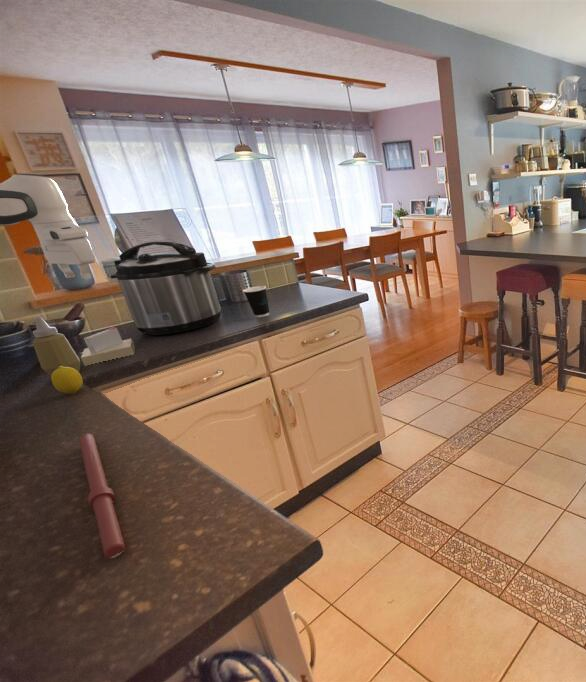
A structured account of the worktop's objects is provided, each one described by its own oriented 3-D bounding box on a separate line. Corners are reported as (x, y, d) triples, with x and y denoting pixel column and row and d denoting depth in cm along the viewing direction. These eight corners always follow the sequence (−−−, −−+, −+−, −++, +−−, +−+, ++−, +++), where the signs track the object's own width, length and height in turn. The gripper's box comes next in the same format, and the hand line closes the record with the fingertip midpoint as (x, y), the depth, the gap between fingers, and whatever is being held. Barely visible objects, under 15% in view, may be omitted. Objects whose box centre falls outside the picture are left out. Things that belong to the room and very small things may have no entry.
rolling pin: (133, 553, 63) (124, 536, 62) (105, 567, 61) (95, 550, 60) (99, 441, 92) (93, 428, 91) (79, 448, 90) (72, 435, 89)
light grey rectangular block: (96, 353, 135) (88, 337, 133) (90, 353, 136) (83, 337, 134) (123, 342, 144) (116, 327, 142) (117, 342, 144) (111, 327, 142)
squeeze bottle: (48, 383, 123) (17, 324, 116) (47, 376, 128) (17, 318, 122) (86, 373, 128) (58, 315, 122) (83, 366, 134) (56, 311, 127)
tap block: (81, 368, 132) (77, 359, 131) (86, 356, 142) (82, 347, 141) (136, 355, 140) (132, 346, 138) (137, 344, 149) (133, 336, 148)
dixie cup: (270, 317, 169) (262, 289, 165) (248, 320, 168) (239, 292, 164) (275, 311, 177) (268, 285, 173) (254, 314, 175) (246, 287, 171)
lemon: (74, 389, 118) (60, 362, 116) (93, 388, 118) (80, 361, 115) (53, 399, 113) (39, 371, 110) (73, 398, 113) (59, 370, 110)
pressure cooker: (244, 315, 174) (219, 235, 162) (169, 341, 150) (133, 249, 138) (198, 310, 186) (171, 235, 174) (121, 334, 162) (84, 248, 150)
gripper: (26, 234, 129) (48, 279, 134) (61, 233, 121) (83, 282, 126) (54, 230, 134) (74, 274, 139) (89, 230, 126) (109, 276, 131)
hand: (79, 278), depth 133 cm, fingers open, 8 cm apart
